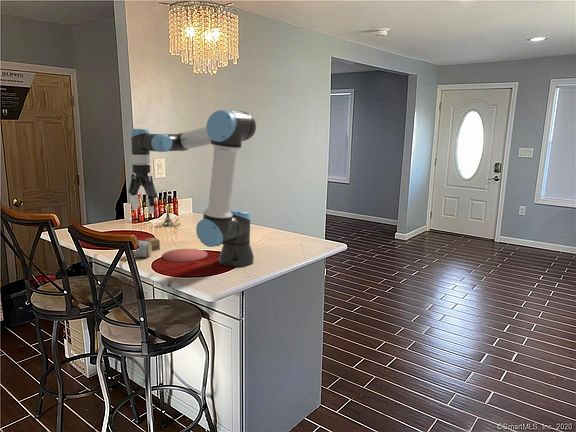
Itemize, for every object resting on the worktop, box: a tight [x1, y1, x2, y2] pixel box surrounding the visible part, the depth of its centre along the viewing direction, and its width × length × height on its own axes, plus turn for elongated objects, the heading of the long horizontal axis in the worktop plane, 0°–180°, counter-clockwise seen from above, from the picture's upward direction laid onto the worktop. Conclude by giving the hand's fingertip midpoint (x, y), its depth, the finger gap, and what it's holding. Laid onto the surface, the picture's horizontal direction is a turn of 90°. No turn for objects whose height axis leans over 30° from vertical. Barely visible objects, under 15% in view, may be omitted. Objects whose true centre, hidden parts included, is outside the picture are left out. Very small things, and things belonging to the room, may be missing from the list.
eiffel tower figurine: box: [161, 205, 181, 228], centre depth 262 cm, size 15×10×13 cm
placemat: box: [162, 248, 208, 263], centre depth 200 cm, size 20×20×1 cm
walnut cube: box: [144, 237, 161, 252], centre depth 209 cm, size 5×5×5 cm
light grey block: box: [133, 240, 153, 258], centre depth 198 cm, size 11×8×8 cm
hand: (143, 211), depth 198 cm, fingers open, 13 cm apart
